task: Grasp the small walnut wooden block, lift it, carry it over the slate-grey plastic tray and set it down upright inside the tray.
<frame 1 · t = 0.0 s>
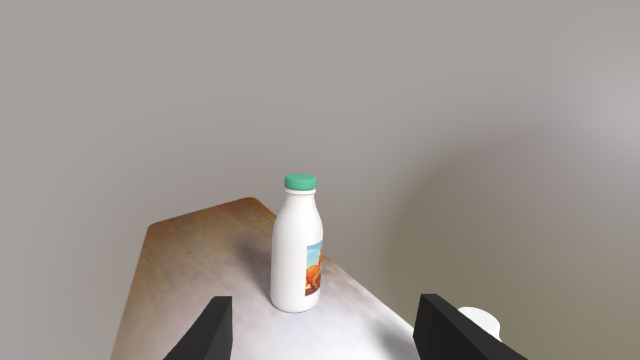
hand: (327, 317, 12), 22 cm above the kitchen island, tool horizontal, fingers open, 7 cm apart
milk bottle: (294, 300, 49), on the kitchen island
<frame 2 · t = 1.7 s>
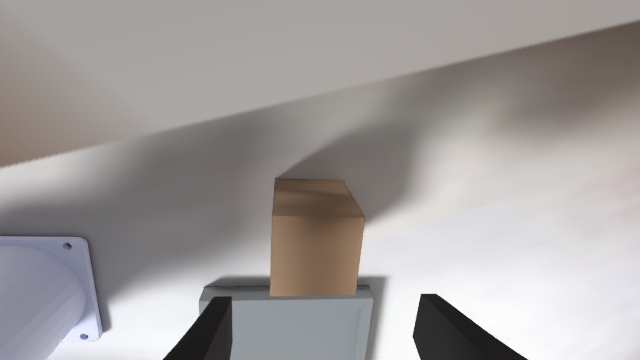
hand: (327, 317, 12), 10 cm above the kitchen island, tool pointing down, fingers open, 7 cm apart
grey tray: (286, 340, 24), on the kitchen island
walnut block: (307, 210, 21), on the kitchen island
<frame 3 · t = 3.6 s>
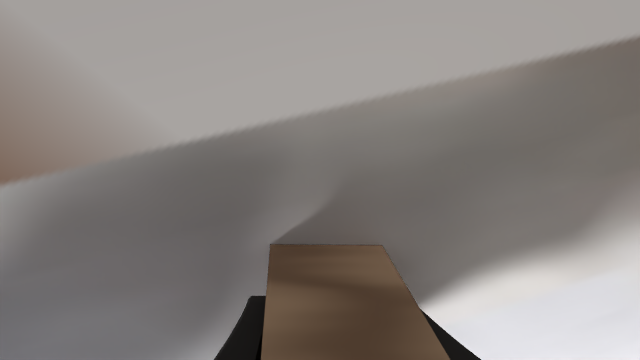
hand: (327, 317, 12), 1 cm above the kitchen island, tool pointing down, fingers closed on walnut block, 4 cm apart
walnut block: (323, 292, 13), on the kitchen island, touching gripper
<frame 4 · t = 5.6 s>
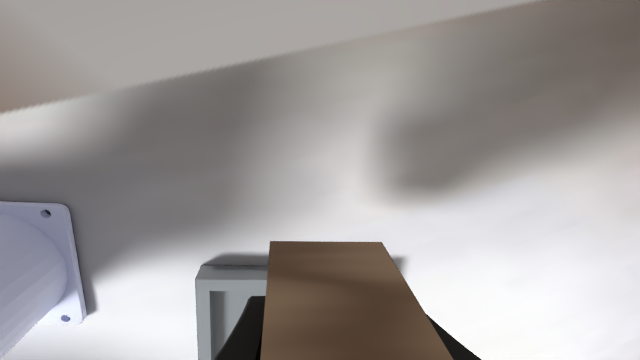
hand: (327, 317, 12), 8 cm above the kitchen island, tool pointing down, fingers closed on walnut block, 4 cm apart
grey tray: (291, 327, 22), on the kitchen island
walnut block: (323, 289, 13), point 7 cm above the kitchen island, touching gripper
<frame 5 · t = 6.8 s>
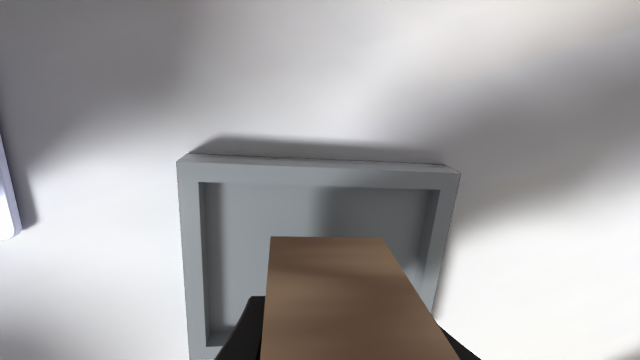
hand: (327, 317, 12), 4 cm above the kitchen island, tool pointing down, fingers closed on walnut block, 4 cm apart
grey tray: (315, 254, 16), on the kitchen island
walnut block: (323, 285, 13), point 3 cm above the kitchen island, touching gripper
when the fingers open (3 cm above the kitchen island, at t = 7.9 s): walnut block drops 1 cm, resting on grey tray.
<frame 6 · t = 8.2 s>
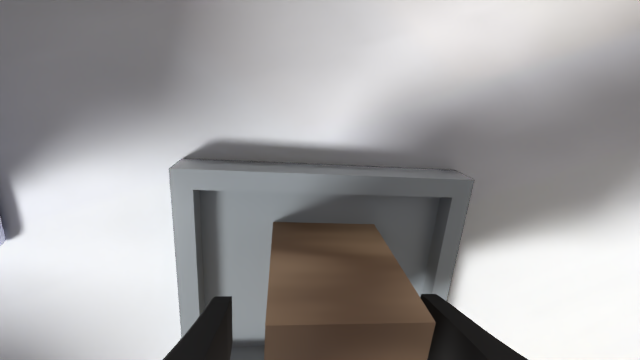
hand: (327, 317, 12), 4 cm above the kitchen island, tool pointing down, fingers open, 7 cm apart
grey tray: (318, 264, 15), on the kitchen island
walnut block: (320, 267, 14), point 1 cm above the kitchen island, touching grey tray
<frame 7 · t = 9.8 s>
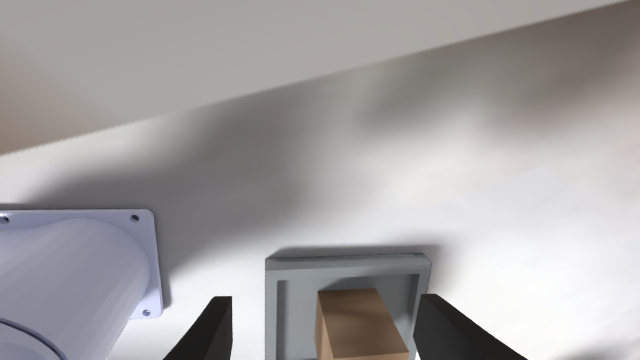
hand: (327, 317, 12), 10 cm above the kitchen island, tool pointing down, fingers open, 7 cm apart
grey tray: (342, 311, 25), on the kitchen island
walnut block: (344, 314, 24), point 1 cm above the kitchen island, touching grey tray
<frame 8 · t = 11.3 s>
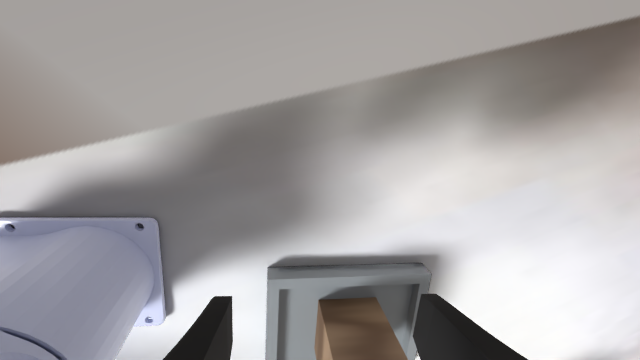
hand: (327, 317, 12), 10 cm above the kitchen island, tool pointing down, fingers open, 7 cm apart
grey tray: (342, 320, 25), on the kitchen island
walnut block: (344, 323, 24), point 1 cm above the kitchen island, touching grey tray
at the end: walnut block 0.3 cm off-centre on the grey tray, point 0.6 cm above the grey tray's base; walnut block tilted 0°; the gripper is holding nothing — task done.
